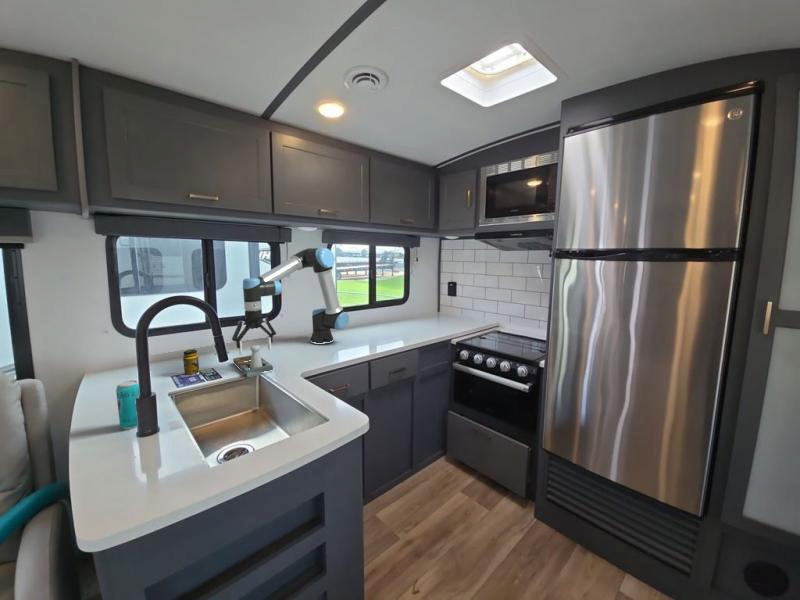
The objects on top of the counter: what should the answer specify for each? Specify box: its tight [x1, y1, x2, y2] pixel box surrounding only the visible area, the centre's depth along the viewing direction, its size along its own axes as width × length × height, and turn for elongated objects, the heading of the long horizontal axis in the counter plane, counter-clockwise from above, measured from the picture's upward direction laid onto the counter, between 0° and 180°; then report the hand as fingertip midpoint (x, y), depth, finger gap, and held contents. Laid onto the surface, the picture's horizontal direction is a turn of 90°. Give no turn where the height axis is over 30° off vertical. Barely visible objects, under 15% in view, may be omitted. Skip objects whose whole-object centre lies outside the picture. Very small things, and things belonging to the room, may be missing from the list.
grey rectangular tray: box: [232, 354, 274, 378], centre depth 164 cm, size 26×12×3 cm, turn 41°
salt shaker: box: [250, 344, 262, 369], centre depth 158 cm, size 6×6×13 cm
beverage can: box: [115, 380, 140, 430], centre depth 105 cm, size 6×6×15 cm
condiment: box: [182, 349, 200, 375], centre depth 153 cm, size 7×8×12 cm
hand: (255, 351), depth 158 cm, fingers open, 13 cm apart
